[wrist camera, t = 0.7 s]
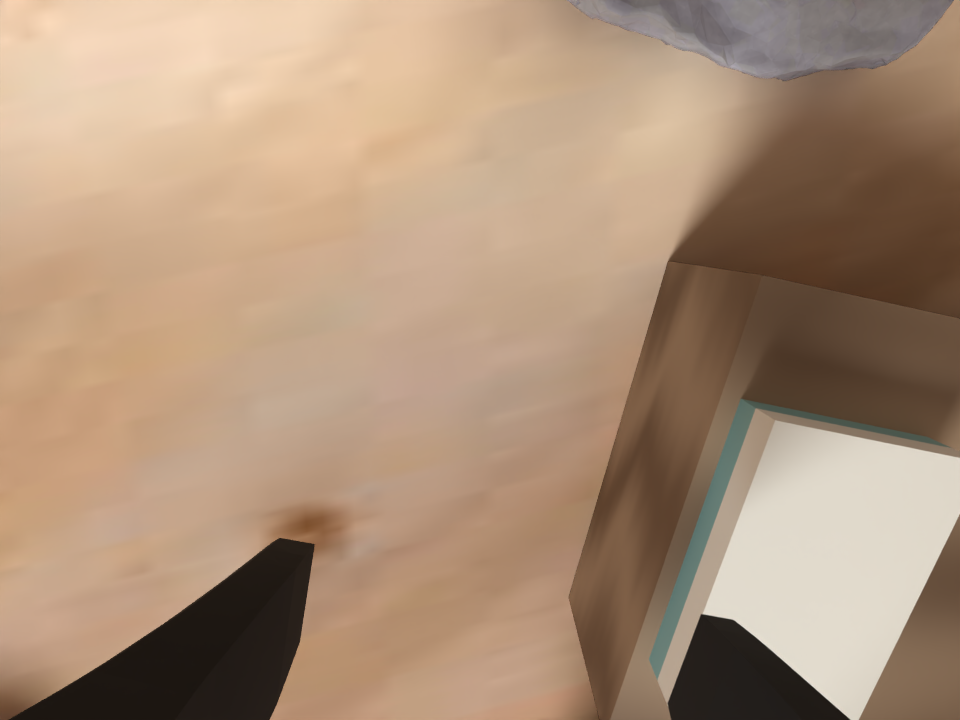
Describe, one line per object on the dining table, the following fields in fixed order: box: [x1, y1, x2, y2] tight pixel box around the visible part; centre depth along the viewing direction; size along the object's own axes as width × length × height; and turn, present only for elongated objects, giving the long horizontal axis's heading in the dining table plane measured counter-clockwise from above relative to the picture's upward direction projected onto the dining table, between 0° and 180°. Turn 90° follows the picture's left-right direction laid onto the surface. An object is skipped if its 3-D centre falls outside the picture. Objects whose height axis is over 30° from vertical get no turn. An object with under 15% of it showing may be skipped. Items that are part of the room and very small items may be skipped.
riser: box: [569, 261, 960, 720], centre depth 17 cm, size 14×12×6 cm
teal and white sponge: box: [649, 399, 960, 720], centre depth 13 cm, size 8×5×2 cm, turn 168°
